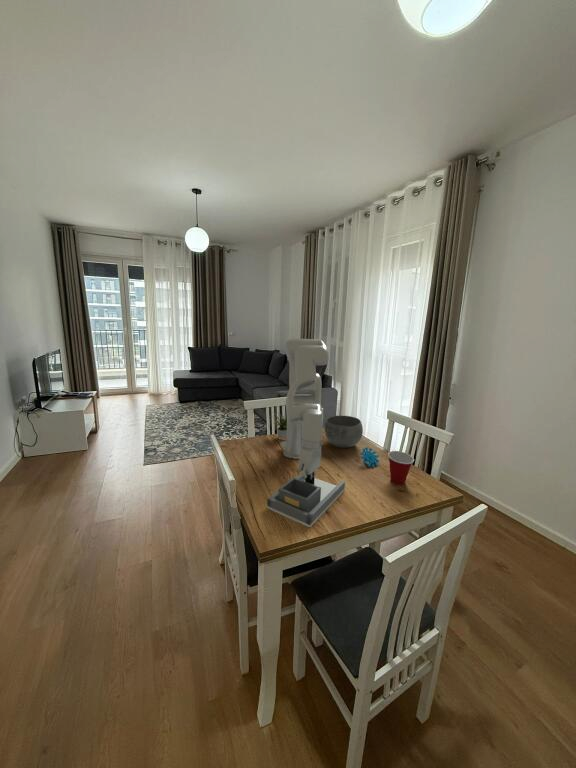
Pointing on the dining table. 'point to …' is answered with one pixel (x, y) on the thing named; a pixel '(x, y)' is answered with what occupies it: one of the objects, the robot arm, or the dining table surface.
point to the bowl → (343, 431)
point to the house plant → (281, 426)
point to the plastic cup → (399, 466)
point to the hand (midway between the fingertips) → (309, 486)
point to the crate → (300, 494)
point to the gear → (369, 457)
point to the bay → (308, 519)
